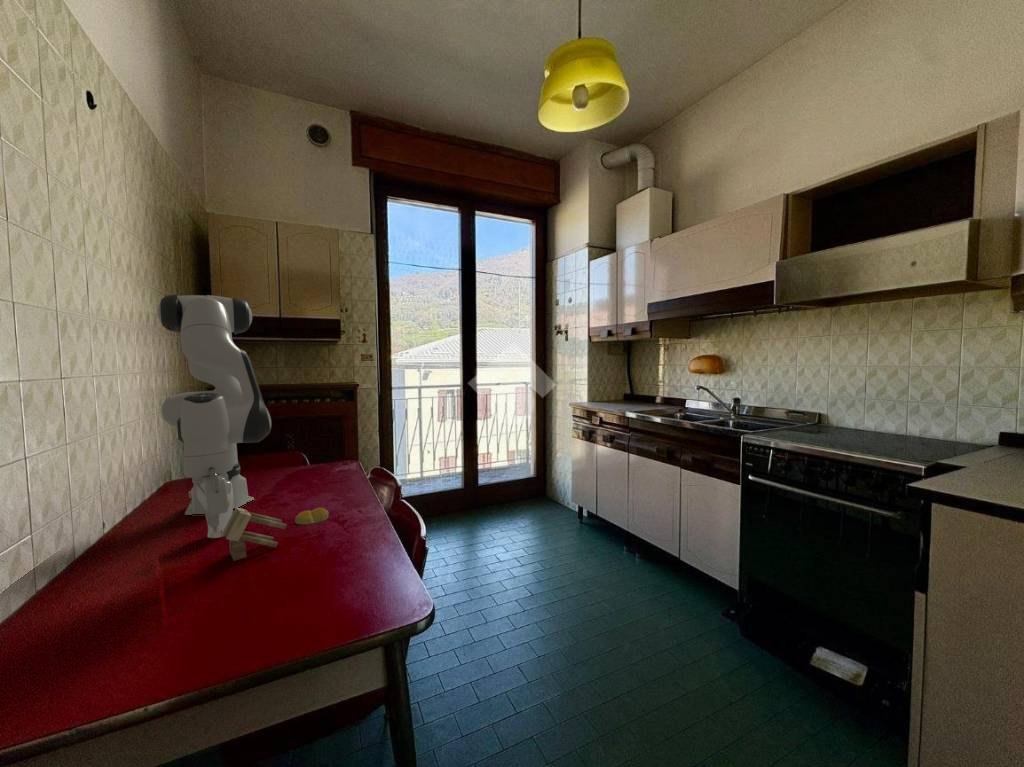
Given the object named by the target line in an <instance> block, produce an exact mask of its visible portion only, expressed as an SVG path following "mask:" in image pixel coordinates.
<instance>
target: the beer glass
mask: <svg viewBox="0 0 1024 767" xmlns="http://www.w3.org/2000/svg"><path fill="white" fill-rule="evenodd" d="M225 483H226V489H227V498H228V511H227V512H225V513H221V514H219V525H218V526H216V527H210V526H209V524H208V519H207V514H206V511H205V509H204V508H203V510H204V513H205V515H204V516H205V519H206V522H207V538H209V539H217V538H223V537H225V535H224V534H223V531H224V529H225V527H226V525H227V523H228V521H229V519H230V518H231V516H232V514H233V512H234V510H233V504H234V495H233V488H232V482H231V480H227V479H226V480H225Z"/></svg>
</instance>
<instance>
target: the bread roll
mask: <svg viewBox="0 0 1024 767" xmlns="http://www.w3.org/2000/svg"><path fill="white" fill-rule="evenodd" d="M328 518H329V510H327V509H325V507H316V508H314V509H313V510H308V509H307V510H304V511H301V512H299V513H298V514H297V515H296V516H295V519H294V523H295V524H296V525H313V524H316V523H321V522H324V521H326V520H327V519H328Z"/></svg>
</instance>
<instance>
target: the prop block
mask: <svg viewBox="0 0 1024 767" xmlns="http://www.w3.org/2000/svg"><path fill="white" fill-rule="evenodd" d="M245 542H246V541H242V540H239V541H233V540H229V542H228V543H229V544H228V545H229V555H230V556H231V558H232V560H233V561H238V560H241V559H245V558H247V546H246V543H245Z"/></svg>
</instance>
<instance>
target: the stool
mask: <svg viewBox="0 0 1024 767" xmlns="http://www.w3.org/2000/svg"><path fill="white" fill-rule="evenodd" d="M249 522H252V523H256V524H260V525H265V526H268V527H274V528H279V529H283V530H285V529H286V528H287V523H284V522H283V520H282V519H279V518H276V517H271V516H267V515H264V514H263V515H262V514H259V513H255V512H251V511H248V510H247V509H244V508H242V507H240V508H237V507H236V508H235V510H233V512H232V516H231V518H230V519H229V521H228V523H227V525H226V527H225V529H224V531H223V534H224V535H225V536H224V537H225V538H226V540H229V541H232V540H233V541H239V540H242V541H244V542H249V543H253V544H259V545H263V546H267V547H273V548H277V546H278V545H279V542H278V541H275V540H274V536H269V535H265V534H260V533H256V532H252V531H246V527H247V525H248V524H249Z"/></svg>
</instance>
